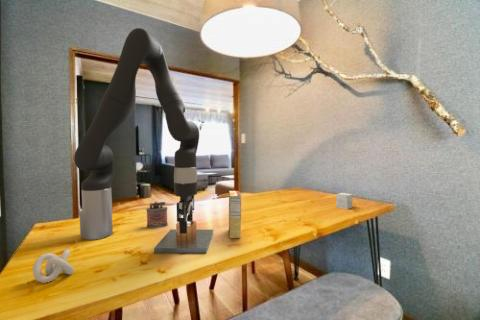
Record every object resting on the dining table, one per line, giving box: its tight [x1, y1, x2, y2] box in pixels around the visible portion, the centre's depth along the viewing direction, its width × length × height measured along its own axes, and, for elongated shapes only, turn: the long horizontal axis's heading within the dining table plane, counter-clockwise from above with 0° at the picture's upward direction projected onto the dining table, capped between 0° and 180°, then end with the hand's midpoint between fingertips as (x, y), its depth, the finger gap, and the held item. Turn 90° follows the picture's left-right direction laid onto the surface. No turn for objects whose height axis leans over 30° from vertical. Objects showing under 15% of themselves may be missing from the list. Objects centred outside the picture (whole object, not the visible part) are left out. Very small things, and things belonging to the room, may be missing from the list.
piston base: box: [153, 221, 214, 254], centre depth 78 cm, size 16×16×7 cm
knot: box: [32, 248, 75, 284], centre depth 57 cm, size 8×8×6 cm
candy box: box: [228, 190, 242, 239], centre depth 85 cm, size 9×4×15 cm, turn 6°
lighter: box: [146, 201, 169, 229], centre depth 94 cm, size 8×3×10 cm, turn 105°
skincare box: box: [335, 192, 354, 210], centre depth 123 cm, size 6×6×7 cm
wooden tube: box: [175, 220, 198, 242], centre depth 78 cm, size 7×7×5 cm
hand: (186, 228), depth 78 cm, fingers open, 8 cm apart
